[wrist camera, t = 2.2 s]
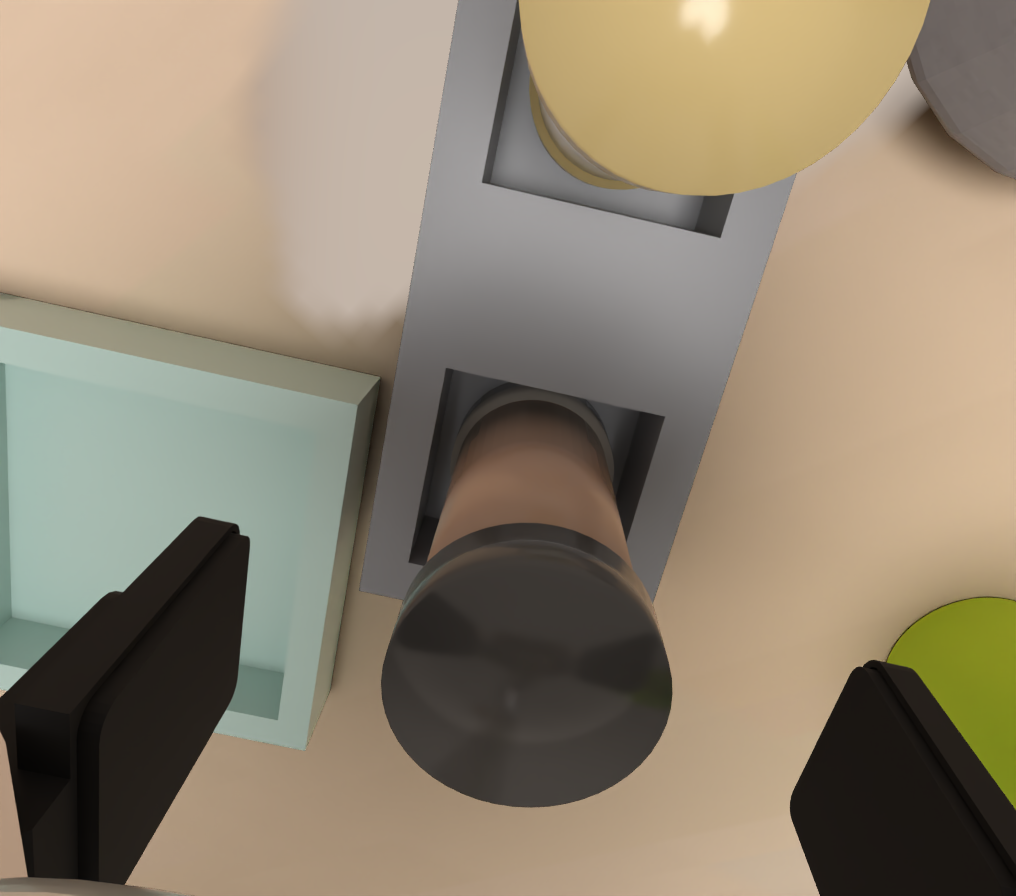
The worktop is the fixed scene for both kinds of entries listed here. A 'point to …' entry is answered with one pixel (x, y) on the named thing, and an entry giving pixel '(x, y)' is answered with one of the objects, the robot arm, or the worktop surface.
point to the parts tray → (178, 490)
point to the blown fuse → (528, 616)
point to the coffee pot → (971, 75)
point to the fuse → (707, 85)
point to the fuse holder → (558, 307)
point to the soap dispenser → (971, 676)
